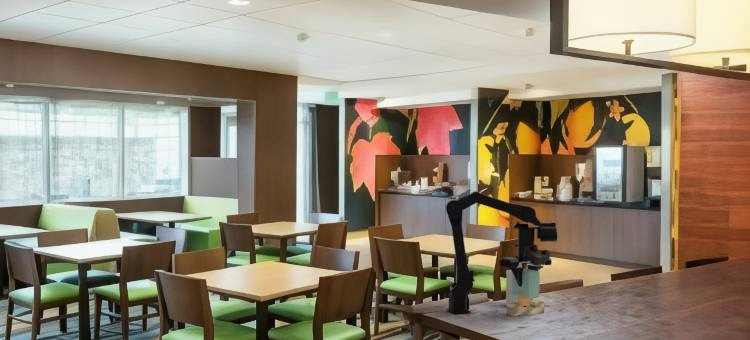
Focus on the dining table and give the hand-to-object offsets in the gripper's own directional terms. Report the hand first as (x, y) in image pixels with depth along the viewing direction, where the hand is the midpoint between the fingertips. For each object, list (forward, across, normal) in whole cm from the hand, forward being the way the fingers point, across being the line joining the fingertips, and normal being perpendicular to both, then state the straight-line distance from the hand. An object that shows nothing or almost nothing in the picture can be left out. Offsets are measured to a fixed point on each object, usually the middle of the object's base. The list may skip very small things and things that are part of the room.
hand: (525, 286), depth 227 cm
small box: (+10, +7, +12) cm, 17 cm away
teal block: (+3, 0, 0) cm, 3 cm away
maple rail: (+10, 0, 0) cm, 10 cm away
